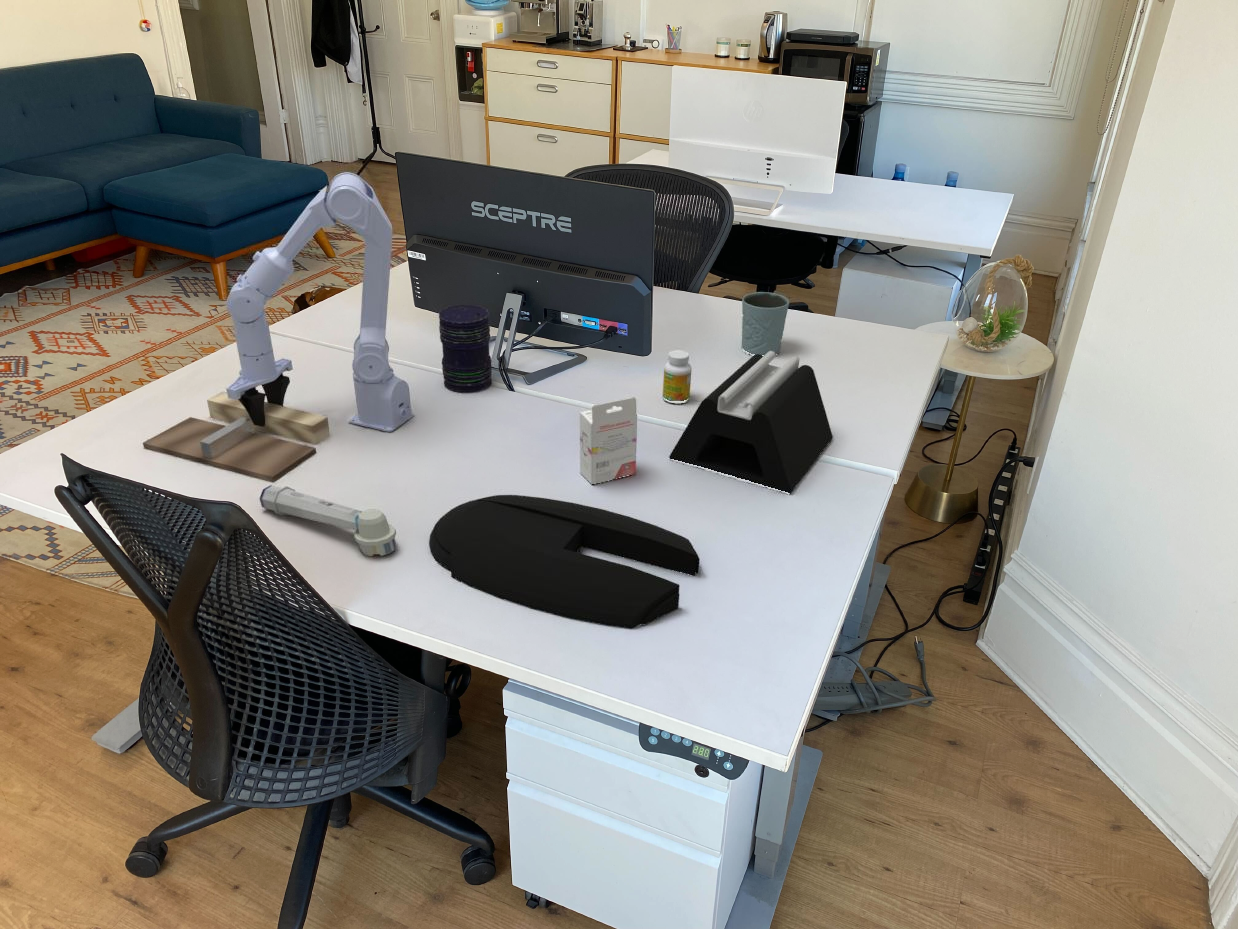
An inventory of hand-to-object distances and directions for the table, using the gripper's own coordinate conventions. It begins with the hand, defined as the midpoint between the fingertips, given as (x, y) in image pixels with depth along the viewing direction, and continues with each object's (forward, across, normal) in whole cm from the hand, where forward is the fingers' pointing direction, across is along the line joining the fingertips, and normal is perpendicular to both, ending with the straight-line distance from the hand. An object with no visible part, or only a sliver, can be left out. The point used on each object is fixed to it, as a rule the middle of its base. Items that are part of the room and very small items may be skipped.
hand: (268, 419), depth 168 cm
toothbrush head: (+2, +23, +31) cm, 39 cm away
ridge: (+1, +10, 0) cm, 10 cm away
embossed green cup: (+2, -75, +73) cm, 105 cm away
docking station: (+2, +15, +66) cm, 67 cm away
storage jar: (+2, -32, +23) cm, 39 cm away
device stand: (+2, -29, +84) cm, 88 cm away
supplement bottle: (+2, -43, +64) cm, 77 cm away
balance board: (+1, +10, 0) cm, 10 cm away
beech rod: (+2, 0, 0) cm, 2 cm away
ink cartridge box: (+2, -10, +63) cm, 64 cm away
